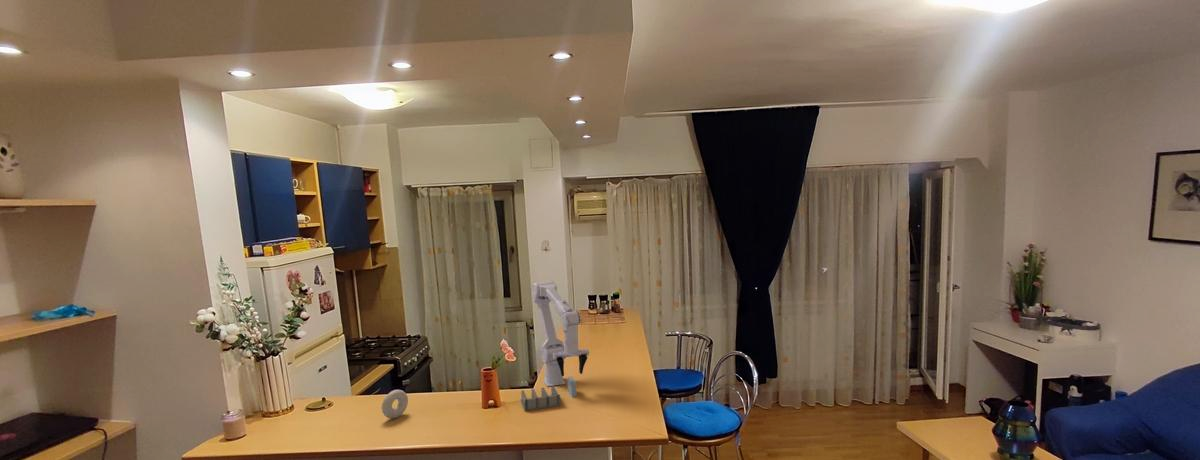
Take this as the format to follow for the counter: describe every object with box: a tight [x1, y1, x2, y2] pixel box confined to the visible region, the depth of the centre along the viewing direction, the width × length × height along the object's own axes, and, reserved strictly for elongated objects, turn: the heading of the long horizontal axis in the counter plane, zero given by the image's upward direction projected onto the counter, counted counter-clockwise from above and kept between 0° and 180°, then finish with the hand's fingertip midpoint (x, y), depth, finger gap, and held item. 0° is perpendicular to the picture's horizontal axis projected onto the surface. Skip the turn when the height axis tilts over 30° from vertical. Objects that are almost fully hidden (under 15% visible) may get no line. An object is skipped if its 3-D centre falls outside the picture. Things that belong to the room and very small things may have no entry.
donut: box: [381, 389, 409, 419], centre depth 169 cm, size 10×4×10 cm, turn 149°
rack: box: [520, 386, 561, 412], centre depth 179 cm, size 10×14×4 cm
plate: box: [567, 376, 577, 398], centre depth 188 cm, size 7×2×6 cm, turn 18°
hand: (571, 374), depth 188 cm, fingers open, 7 cm apart
